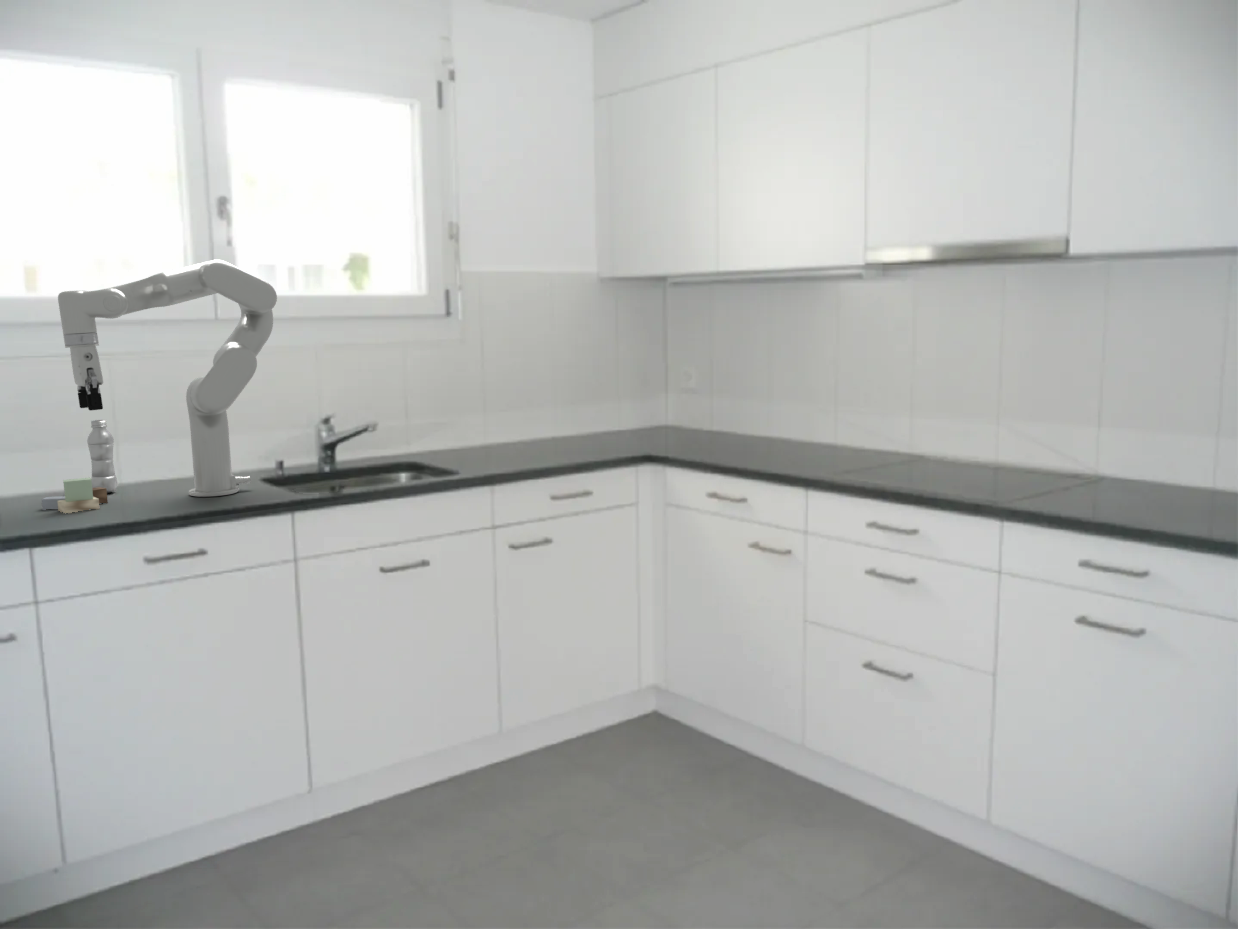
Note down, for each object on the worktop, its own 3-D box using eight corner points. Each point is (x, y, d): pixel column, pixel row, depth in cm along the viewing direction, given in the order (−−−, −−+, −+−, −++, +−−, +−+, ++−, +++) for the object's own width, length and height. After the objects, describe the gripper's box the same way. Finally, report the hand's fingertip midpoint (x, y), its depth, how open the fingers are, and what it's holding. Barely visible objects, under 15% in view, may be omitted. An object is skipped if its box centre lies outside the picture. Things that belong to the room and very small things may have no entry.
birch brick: (92, 507, 255) (91, 496, 254) (99, 510, 251) (98, 498, 251) (58, 512, 249) (57, 500, 249) (65, 515, 246) (63, 503, 245)
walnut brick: (100, 502, 261) (99, 487, 260) (107, 503, 259) (106, 488, 258) (81, 505, 257) (79, 490, 256) (88, 506, 255) (87, 491, 254)
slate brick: (73, 507, 255) (72, 495, 254) (68, 510, 251) (67, 498, 251) (47, 508, 254) (46, 496, 253) (42, 511, 250) (41, 499, 250)
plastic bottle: (107, 490, 278) (100, 418, 275) (123, 492, 275) (117, 419, 272) (86, 494, 272) (79, 421, 269) (102, 495, 269) (96, 422, 266)
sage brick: (92, 496, 253) (90, 477, 252) (93, 499, 250) (91, 479, 249) (65, 499, 250) (63, 479, 249) (66, 501, 247) (64, 481, 246)
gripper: (105, 339, 245) (115, 409, 248) (90, 339, 259) (99, 405, 262) (72, 342, 241) (82, 412, 244) (57, 341, 254) (67, 408, 257)
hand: (91, 408), depth 253 cm, fingers open, 9 cm apart
